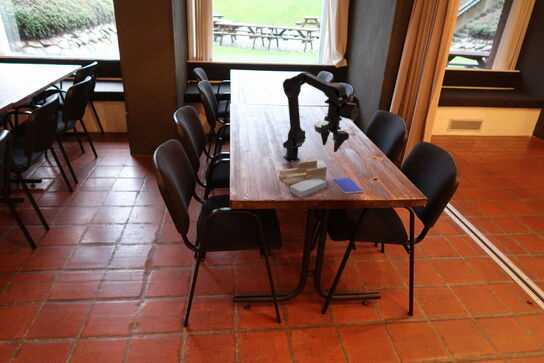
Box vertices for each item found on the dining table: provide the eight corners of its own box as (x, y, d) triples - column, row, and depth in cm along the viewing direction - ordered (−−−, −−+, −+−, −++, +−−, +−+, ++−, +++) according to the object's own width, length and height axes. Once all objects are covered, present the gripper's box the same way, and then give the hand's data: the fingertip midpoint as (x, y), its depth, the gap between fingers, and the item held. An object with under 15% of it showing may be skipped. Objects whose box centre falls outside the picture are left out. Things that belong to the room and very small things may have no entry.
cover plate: (289, 192, 152) (289, 185, 150) (314, 182, 162) (315, 176, 160) (300, 198, 148) (301, 191, 146) (325, 187, 158) (326, 181, 156)
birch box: (278, 176, 164) (279, 164, 161) (315, 171, 171) (316, 160, 169) (287, 185, 157) (288, 172, 154) (325, 179, 164) (327, 167, 162)
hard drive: (333, 178, 163) (345, 191, 152) (349, 177, 165) (362, 189, 155) (332, 181, 164) (344, 194, 153) (349, 180, 166) (362, 193, 155)
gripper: (307, 110, 164) (303, 143, 170) (330, 122, 148) (325, 157, 155) (328, 109, 168) (324, 141, 175) (352, 120, 153) (346, 155, 160)
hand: (329, 148), depth 166 cm, fingers open, 9 cm apart
